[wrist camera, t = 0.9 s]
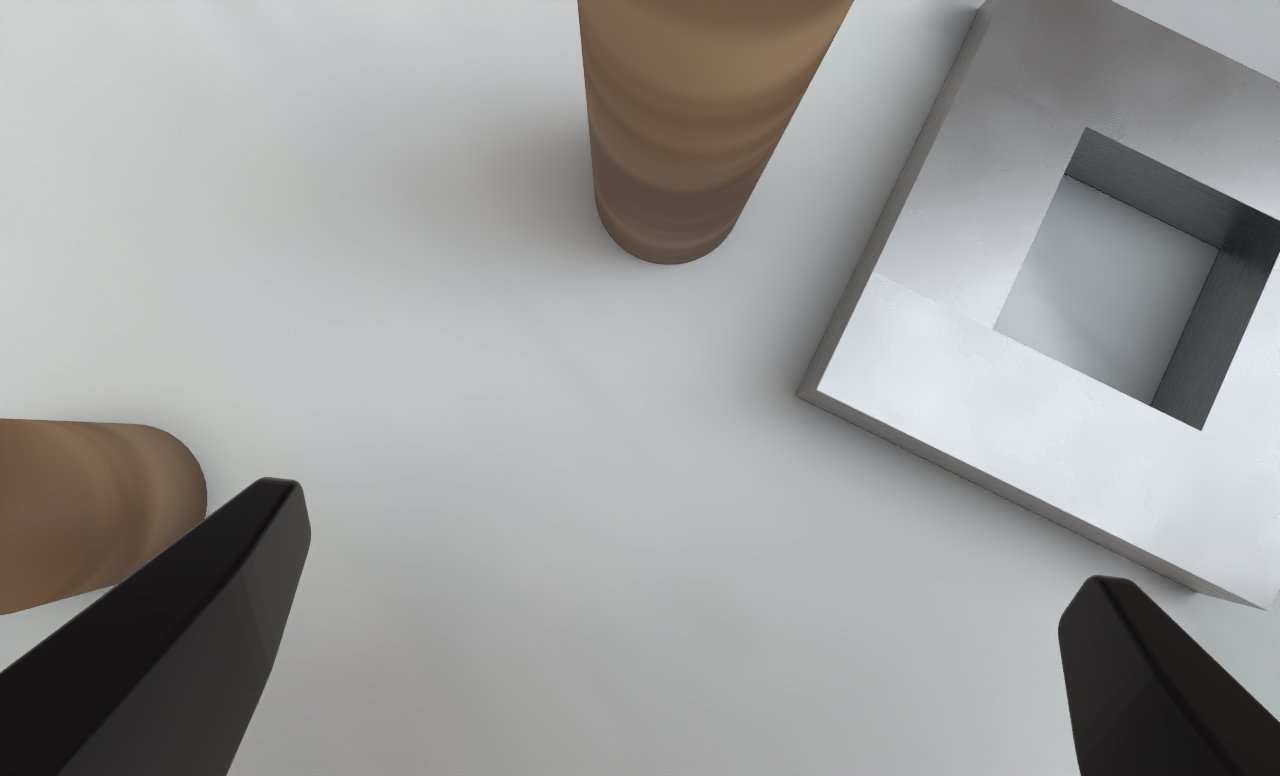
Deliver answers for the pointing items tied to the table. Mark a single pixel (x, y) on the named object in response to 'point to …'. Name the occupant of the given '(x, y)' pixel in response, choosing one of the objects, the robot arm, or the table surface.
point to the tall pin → (692, 110)
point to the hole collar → (994, 252)
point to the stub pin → (88, 505)
